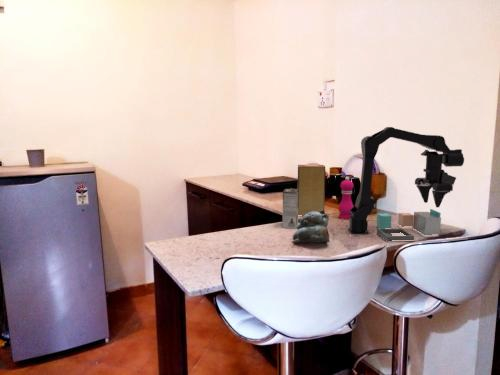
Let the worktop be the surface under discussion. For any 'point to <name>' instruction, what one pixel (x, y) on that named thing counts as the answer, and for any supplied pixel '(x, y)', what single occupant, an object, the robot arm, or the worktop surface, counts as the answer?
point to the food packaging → (311, 188)
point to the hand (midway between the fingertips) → (431, 204)
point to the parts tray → (388, 236)
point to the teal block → (383, 221)
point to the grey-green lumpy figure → (312, 228)
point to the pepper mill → (346, 199)
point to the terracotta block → (405, 219)
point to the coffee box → (290, 208)
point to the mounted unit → (427, 222)
